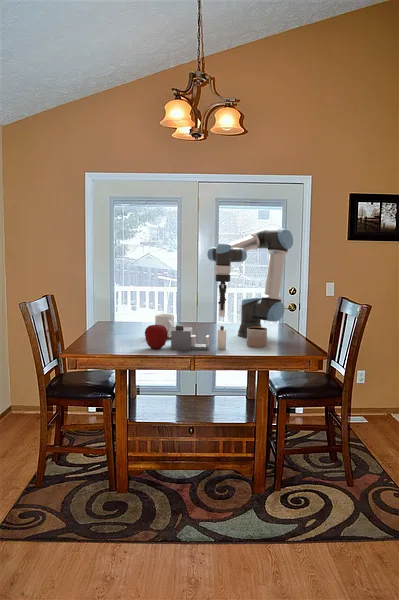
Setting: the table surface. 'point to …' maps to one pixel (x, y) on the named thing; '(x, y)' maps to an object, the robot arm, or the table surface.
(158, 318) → the mug
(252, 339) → the planter
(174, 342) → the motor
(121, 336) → the table surface
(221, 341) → the white bottle
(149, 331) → the apple
